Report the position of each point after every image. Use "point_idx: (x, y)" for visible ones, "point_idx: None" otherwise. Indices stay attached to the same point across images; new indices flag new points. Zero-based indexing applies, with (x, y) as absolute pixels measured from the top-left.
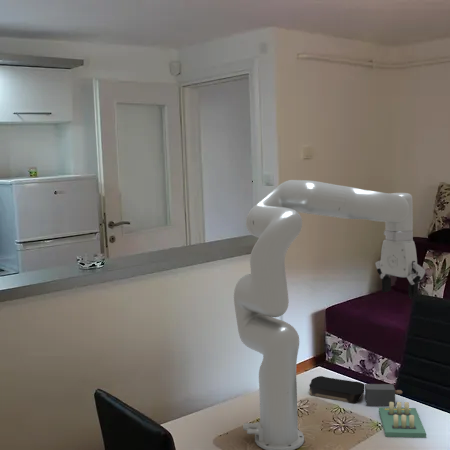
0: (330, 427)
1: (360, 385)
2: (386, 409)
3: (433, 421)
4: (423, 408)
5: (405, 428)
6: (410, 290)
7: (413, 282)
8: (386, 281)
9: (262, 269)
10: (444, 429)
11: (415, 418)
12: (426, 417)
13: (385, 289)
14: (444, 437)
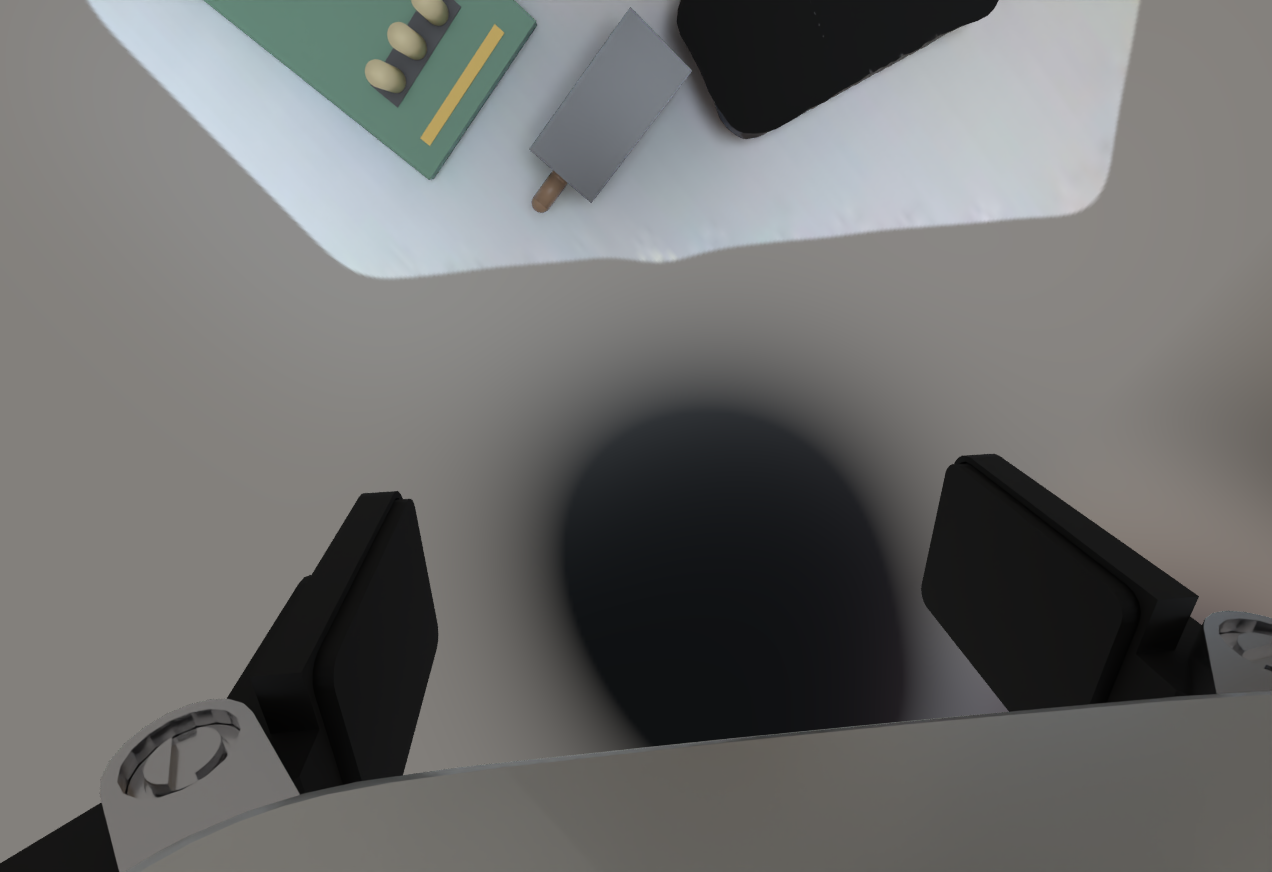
0: None
1: (742, 102)
2: (489, 30)
3: (312, 165)
4: (446, 245)
5: None
6: (314, 581)
7: (109, 770)
8: (1062, 630)
9: None
10: (217, 135)
11: (331, 74)
12: (362, 174)
13: (965, 507)
14: (142, 58)
